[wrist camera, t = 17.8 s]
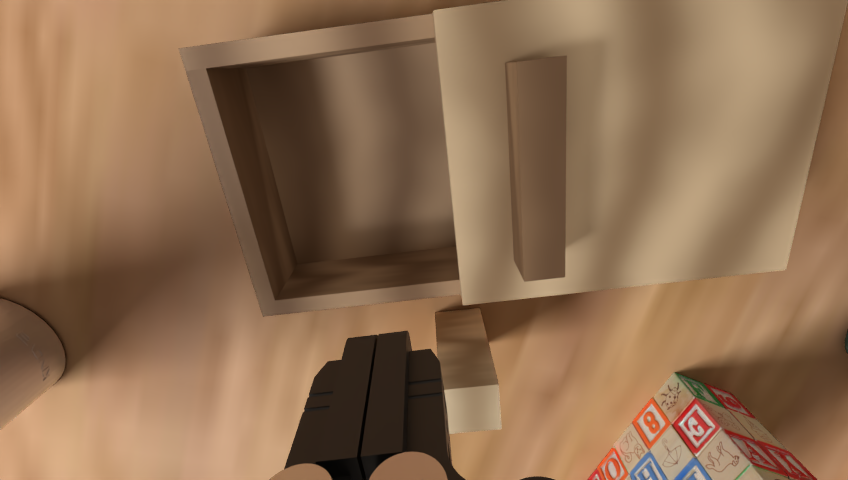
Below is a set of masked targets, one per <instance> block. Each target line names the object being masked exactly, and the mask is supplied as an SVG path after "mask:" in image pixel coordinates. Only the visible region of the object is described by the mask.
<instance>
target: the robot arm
mask: <svg viewBox="0 0 848 480" xmlns="http://www.w3.org/2000/svg"><path fill="white" fill-rule="evenodd" d="M65 362H66V359H65V353H64V349H63V347H62V344H61V342H60V340H59V338H58V337H57V335H56V334H55V332H54V331H53V330H52V329H51V328H50V327H49V326H48V325H47V324H46V322H45V321H43V320H42V319H41V318H40V317H38V316H37V315H36V314H34V313H33V312H31V311H30V310H28V309H26V308H24V307H22V306H21V305H18V304H16V303H13V302H11V301H8V300H5V299H0V430H1V429H2V428H3V427H5V426H6V425H7V424H8V423H9V422H10V421H12V420H13V419H14V418H15V417H16V416H18V415H19V414H20V413H21V412H22V411H23V410H25V409H26V408H27V407H28V406H29V405H30V404H32V403H33V402H34V401H35V400H36V399H37V398H38V397H40V396H41V395H42V394H43V393H44V392H45V391H47V390H48V389H49V388H50V387H51V386H52V385H54V384H55V383H56V382H57V381H58V379H59V378H60V377H61V376H62V374H63V371H64V369H65ZM304 410H305V411H304V412H303V414H302V417H301V420H300V423H299V426H298V429H297V432H296V435H295V438H294V441H293V444H292V447H291V450H290V453H289V456H288V459H287V462H286V465H285V468H284V470H282V471H281V472H279V473H277V474H276V475H274V476H273V477H272V478H271V479H270V480H465V479H464V478H463V477H461V476H460V475H459V474H458V473H457V472H456V470H455V469H454V468H453V466H452V459H451V448H450V436H449V425H448V414H447V406H446V399H445V392H444V385H443V379H442V372H441V365H440V361H439V360H438V358H437V357H436V356H435V354H434V353H433V352H432V350H431V349H425V350H417V351H412V348H411V342H410V337H409V333H408V331H402V332H394V333H386V334H379V335H370V336H362V337H354V338H348V339H347V341H346V345H345V348H344V352H343V356H342V360H336V361H328V362H327V363H326V364H325V365H324V367H323V368H322V369H321V370H320V371H319V373H318V374H317V375H316V376H315V378H314V381H313V384H312V387H311V390H310V393H309V397H308V399H307V402H306V405H305V408H304ZM521 480H554V479H551V478H546V477H528V478H524V479H521Z"/></svg>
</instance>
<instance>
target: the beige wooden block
mask: <svg viewBox="0 0 848 480" xmlns="http://www.w3.org/2000/svg"><path fill="white" fill-rule="evenodd" d="M435 322H436V339H437V356H438V360H439V361H440V365H441V372H442V379H443V385H444V392H445V399H446V406H447V414H448V425H449V434H454V433H464V432H475V431H486V430H496V429H502V428H501V412H500V397H499V384H498V379H497V375H496V371H495V367H494V363H493V359H492V355H491V351H490V347H489V343H488V339H487V335H486V331H485V327H484V323H483V319H482V315H481V311H480V308H473V309H464V310H454V311H445V312H435Z"/></svg>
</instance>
